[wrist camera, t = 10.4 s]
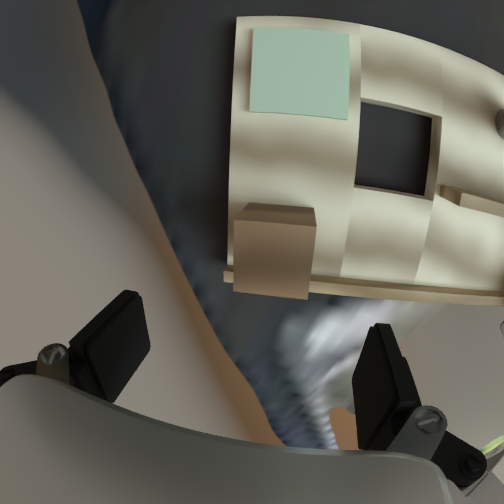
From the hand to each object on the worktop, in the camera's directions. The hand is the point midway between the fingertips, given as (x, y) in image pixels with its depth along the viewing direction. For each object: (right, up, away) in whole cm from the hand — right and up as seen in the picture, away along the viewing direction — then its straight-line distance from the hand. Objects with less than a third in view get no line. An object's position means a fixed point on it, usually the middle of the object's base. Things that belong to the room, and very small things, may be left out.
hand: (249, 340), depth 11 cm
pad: (+4, +17, +7) cm, 18 cm away
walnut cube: (+2, +5, +12) cm, 13 cm away
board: (+14, +11, +9) cm, 20 cm away
